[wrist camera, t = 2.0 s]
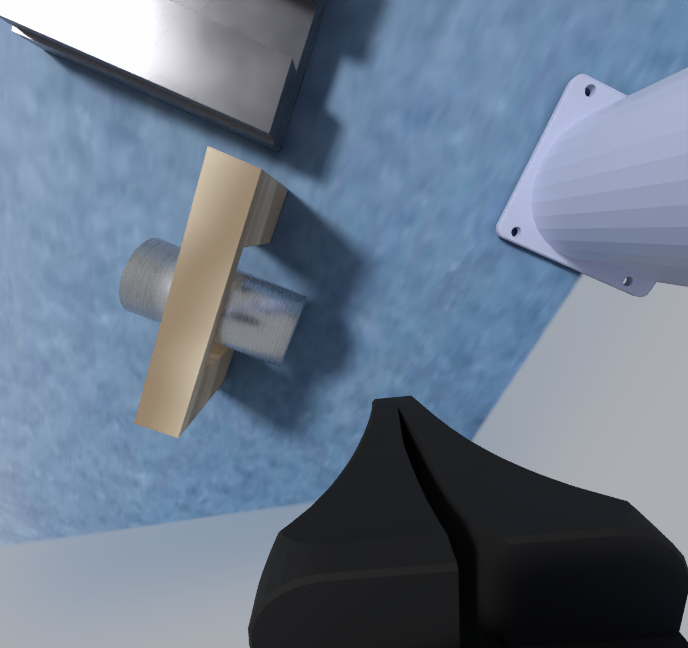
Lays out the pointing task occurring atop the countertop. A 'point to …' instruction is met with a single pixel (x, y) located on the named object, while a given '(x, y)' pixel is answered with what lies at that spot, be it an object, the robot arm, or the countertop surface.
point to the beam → (206, 289)
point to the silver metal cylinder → (240, 309)
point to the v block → (187, 52)
